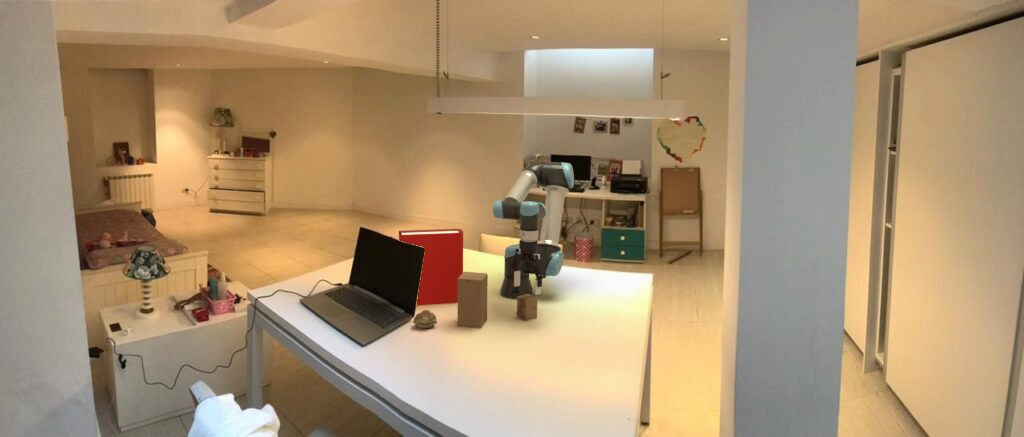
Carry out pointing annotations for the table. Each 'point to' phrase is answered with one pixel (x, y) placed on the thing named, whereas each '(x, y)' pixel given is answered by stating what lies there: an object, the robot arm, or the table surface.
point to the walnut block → (527, 307)
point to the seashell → (425, 319)
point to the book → (438, 263)
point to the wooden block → (472, 299)
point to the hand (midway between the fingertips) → (527, 290)
